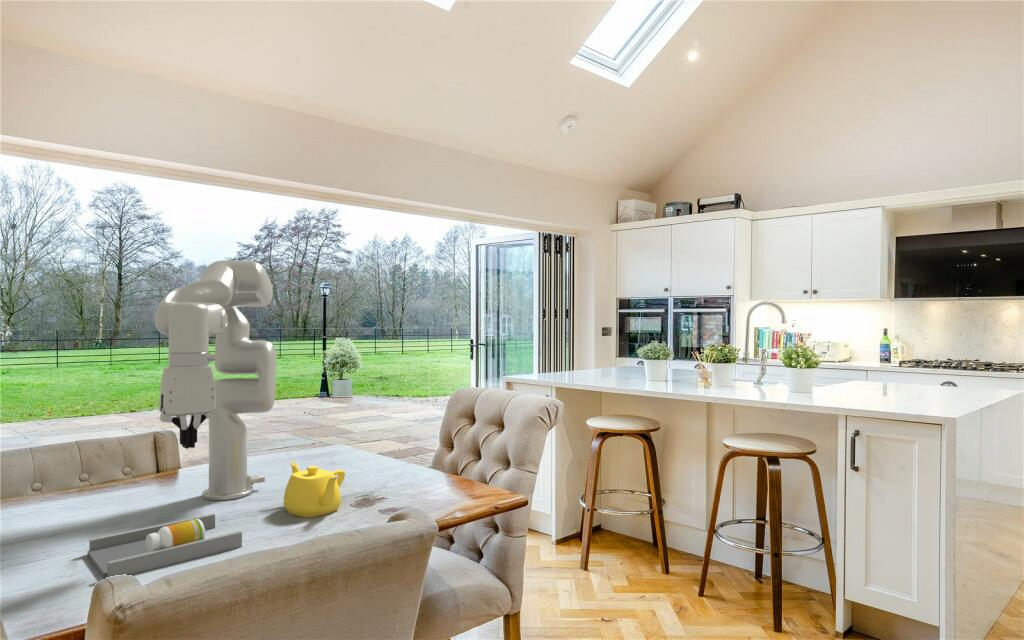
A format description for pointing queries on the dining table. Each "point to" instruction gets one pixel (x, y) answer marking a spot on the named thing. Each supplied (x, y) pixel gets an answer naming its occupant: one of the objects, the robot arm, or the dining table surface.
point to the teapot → (313, 491)
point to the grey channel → (132, 556)
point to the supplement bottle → (176, 535)
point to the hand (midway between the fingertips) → (188, 446)
